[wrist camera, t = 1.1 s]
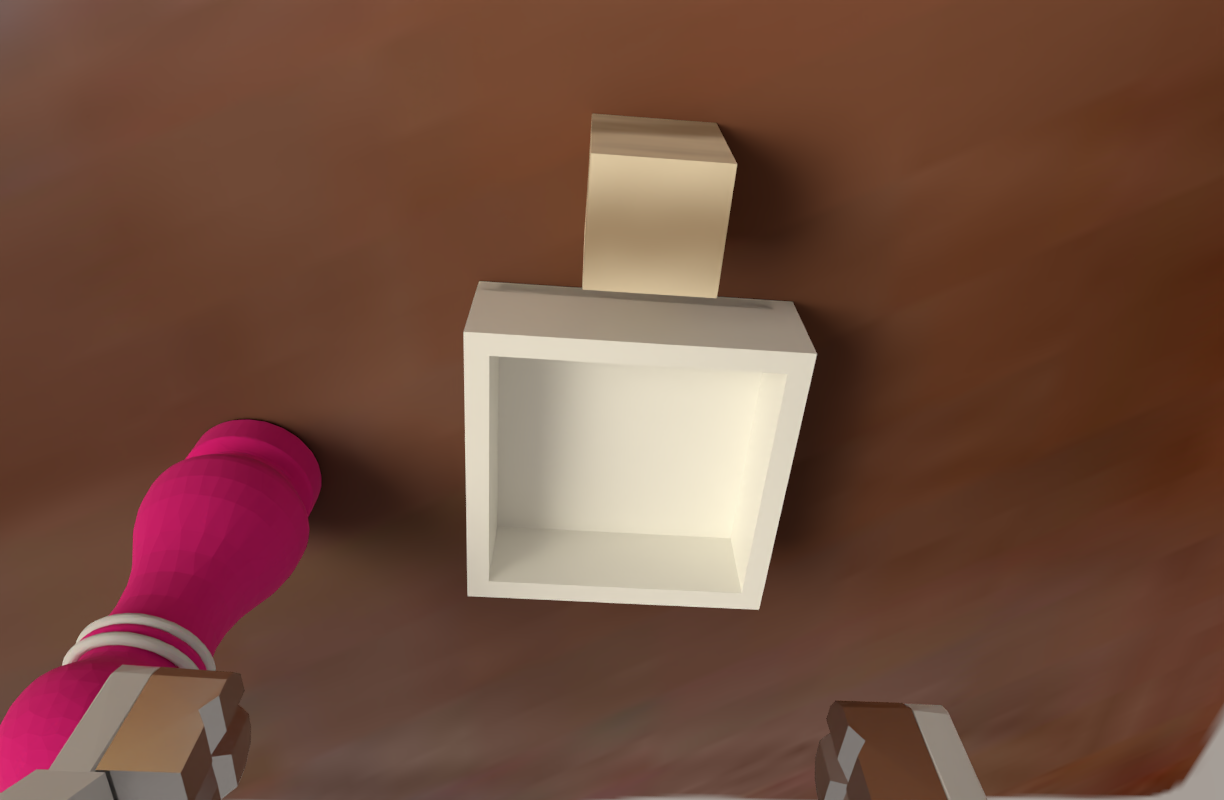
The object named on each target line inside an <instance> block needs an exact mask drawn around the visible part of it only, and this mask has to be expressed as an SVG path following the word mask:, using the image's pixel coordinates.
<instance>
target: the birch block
mask: <svg viewBox="0 0 1224 800" xmlns="http://www.w3.org/2000/svg"><path fill="white" fill-rule="evenodd" d="M736 169H737V163H736V161H735V159H734V157H733V155H732V153H731V151H730V149H729V147H728V145H727V143H726V141H725V139H724V137H723V135H722V133H721V131H720V129H719V127H718V125H717V123H710V122H697V121H684V120H671V119H657V118H644V117H631V116H618V115H605V114H592V122H591V138H590V154H589V170H588V186H587V202H586V218H585V234H584V259H583V285H582V290H597V291H612V292H627V293H643V294H658V295H673V296H689V297H704V298H717V294H718V287H719V280H720V274H721V267H722V261H723V254H724V248H725V241H726V235H727V228H728V221H729V215H730V208H731V202H732V195H733V189H734V182H735V176H736Z"/></svg>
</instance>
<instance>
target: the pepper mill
mask: <svg viewBox="0 0 1224 800" xmlns="http://www.w3.org/2000/svg"><path fill="white" fill-rule="evenodd" d="M320 489H321V472H320V468H319V465H318V462H317V460H316V458H315V457H314V455H313V453H312V451H311V450H310V449H309V448H308V447H307V446H306V445H305V444H304V443H303V442H302V441H301V440H300V439H299V438H298V437H297V436H295V435H293V434H292V433H290V432H289V431H287V430H285V429H284V428H282V427H279V426H276V425H273V424H271V423H268V422H265V421H257V420H250V419H245V420H232V421H228V422H224V423H221V424H219V425H217V426H215V427H213V428H211V429H210V430H208V431H207V432H206V433H205V434H204V435H203V436H202V437H201V438H200V440H199V441H198V442H197V444H196V445H195V447H194V448H193V449H192V451H191V452H190V453H189V455H188V456H187V458H186V459H185V460H183V461H181V462H179V463H176V464H174V465H172V466H171V467H170V468H168V469H167V470H166V471H164V472H163V473H162V474H161V475H160V476H159V477H158V478H157V479H156V481H155V482H154V483H153V484H152V486H151V487H150V489H149V491H148V492H147V494H146V496H145V497H144V499H143V501H142V503H141V506H140V508H139V510H138V514H137V518H136V522H135V526H134V530H133V562H132V571H131V574H130V578H129V581H128V584H127V587H126V588H125V590H124V592H123V594H122V596H121V598H120V600H119V602H118V604H117V606H116V607H115V608H114V610H113V611H112V612H111V613H110V615H109V616H106V617H104V618H101V619H99V620H97V621H95V622H93V623H91V624H90V625H88V626H87V627H86V628H85V629H84V630H83V631H82V632H81V634H80V635H79V637H78V639H77V641H76V644H75V645H74V646H73V647H72V648H71V649H70V650H69V651H68V653H67V654H66V656H65V657H64V660H63V664H62V666H60V667H58V668H55V669H53V670H51V671H49V672H47V673H45V674H43V675H42V676H40V677H39V678H37V679H36V680H35V681H33V682H32V683H31V684H30V685H29V686H28V687H27V688H26V689H25V690H24V691H23V692H22V693H21V694H20V695H19V697H18V698H17V699H16V700H15V702H14V703H13V704H12V705H11V707H10V708H9V710H8V712H7V714H6V716H5V718H4V719H3V721H2V723H1V725H0V792H3V791H4V790H6V789H7V788H9V787H11V786H12V785H14V784H15V783H17V782H18V781H20V780H21V779H23V778H24V777H26V776H27V775H29V774H30V773H32V772H33V771H35V770H36V769H46V770H48V769H49V768H50V766H51V765H52V763H53V762H54V760H55V759H56V757H57V756H58V754H59V753H60V751H61V750H62V748H63V746H64V745H65V743H66V742H67V740H68V739H69V737H70V736H71V734H72V733H73V731H74V730H75V728H76V727H77V725H78V723H79V722H80V720H81V719H82V717H83V716H84V714H85V713H86V711H87V710H88V708H89V707H90V705H91V704H92V702H93V700H94V699H95V697H96V696H97V694H98V693H99V691H100V690H101V688H102V687H103V685H104V684H105V682H106V680H107V679H108V677H109V676H110V674H112V673H113V672H114V671H115V670H116V669H118V668H119V667H120V666H121V665H136V666H152V667H171V668H184V669H197V670H211V671H216V667H215V663H214V659H213V655H214V653H215V650H216V648H217V646H218V645H219V643H220V642H221V640H222V639H223V637H224V636H225V634H226V633H227V632H228V631H229V630H230V629H231V628H232V627H233V625H234V624H235V623H236V622H237V621H238V620H239V619H240V618H241V617H243V616H244V615H245V614H246V613H248V612H249V611H250V610H252V609H253V608H255V607H256V606H257V605H259V604H260V603H261V602H263V601H264V600H265V599H267V598H268V597H269V596H271V595H272V594H273V593H274V592H275V591H276V590H277V589H278V588H279V587H280V586H281V585H282V584H283V583H284V582H285V581H286V580H287V579H288V578H289V576H290V575H291V574H292V572H293V571H294V569H295V568H296V566H297V564H298V563H299V561H300V559H301V557H302V555H303V553H304V551H305V549H306V547H307V543H308V539H309V521H308V517H309V515H310V513H311V511H312V509H313V507H314V504H315V502H316V500H317V498H318V496H319V493H320Z"/></svg>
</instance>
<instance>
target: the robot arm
mask: <svg viewBox="0 0 1224 800" xmlns="http://www.w3.org/2000/svg"><path fill="white" fill-rule="evenodd" d="M243 693H244V686H243V682H242V678H241V674H239V673H235V672H224V671H211V670H197V669H184V668H171V667H152V666H136V665H121V666H120V667H119V668H118V669H116V670H115V671H114V672H113V673H112V674H110V676H109V677H108V679H107V680H106V682H105V684H104V685H103V687H102V688H101V690H100V691H99V693H98V694H97V696H96V697H95V699H94V700H93V702H92V704H91V705H90V707H89V708H88V710H87V711H86V713H85V714H84V716H83V717H82V719H81V720H80V722H79V723H78V725H77V727H76V728H75V730H74V731H73V733H72V734H71V736H70V737H69V739H68V740H67V742H66V743H65V745H64V746H63V748H62V750H61V751H60V753H59V754H58V756H57V757H56V759H55V760H54V762H53V763H52V765H51V766H50V768H49V769H48V770H46V769H36V770H35V771H33V772H32V773H30V774H29V775H27V776H26V777H24V778H23V779H21V780H20V781H18V782H17V783H15V784H14V785H12V786H11V787H9V788H7V789H6V790H4V791H3V792H1V793H0V800H221V799H222V798H223V797H225V796H226V795H227V794H228V793H230V792H231V791H232V790H233V789H235V788H236V787H237V786H238V784H239V781H240V779H241V776H242V774H243V771H244V769H245V766H246V762H247V757H248V752H249V748H250V743H251V724H250V718H249V714H248V713H247V712H246V711H245V710H244V709H243V708H242V707H240V706H239V705H238V704H239V702H240V700H241V698H242V696H243ZM826 719H827V723H828V727H829V730H830V733H829V734H828V735H826V736H825V737H824V738H822V739H821V740H820V741H819V745H818V749H817V753H816V757H815V783H816V792H817V797H818V800H987V798H986V796H985V794H984V791H983V789H982V787H981V785H980V782H979V780H978V778H977V776H976V774H975V771H974V769H973V767H972V765H971V762H970V760H969V758H968V756H967V753H966V751H965V749H964V747H963V745H962V742H961V740H960V738H959V736H958V733H957V731H956V729H955V727H954V725H953V722H952V720H951V718H950V716H949V713H948V711H947V710H946V709H945V708H944V707H943V706H942V705H924V704H903V703H888V702H860V701H835V702H834V703H833V704H832V705H831V706H830V709H829V712H828V715H827V718H826Z"/></svg>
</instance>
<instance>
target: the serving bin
mask: <svg viewBox="0 0 1224 800" xmlns="http://www.w3.org/2000/svg"><path fill="white" fill-rule="evenodd" d="M816 356H817V353H816V351H815V348H814V346H813V344H812V342H811V340H810V338H809V336H808V334H807V331H806V329H805V327H804V325H803V323H802V321H801V319H800V316H799V314H798V312H797V310H796V308H795V306H794V304H793V302H791V301H776V300H760V299H745V298H730V297H717V298H704V297H689V296H673V295H658V294H643V293H627V292H612V291H597V290H582V288H577V287H562V286H547V285H531V284H516V283H501V282H485V281H479V283H478V286H477V290H476V293H475V296H474V299H473V303H472V306H471V309H470V312H469V316H468V319H467V322H466V326H465V329H464V392H465V460H466V527H467V594H468V596H477V597H499V598H520V599H541V600H563V601H584V602H606V603H627V604H649V605H670V606H691V607H713V608H734V609H756V610H759V607H760V603H761V598H762V594H763V590H764V585H765V581H766V576H767V572H768V568H769V563H770V559H771V554H772V550H773V546H774V541H775V537H776V532H777V528H778V524H779V519H780V515H781V510H782V506H783V502H784V497H785V493H786V488H787V484H788V480H789V475H790V471H791V466H792V462H793V458H794V453H795V449H796V444H797V440H798V436H799V431H800V427H801V422H802V418H803V414H804V409H805V405H806V400H807V396H808V391H809V387H810V383H811V378H812V374H813V369H814V365H815V361H816Z"/></svg>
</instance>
